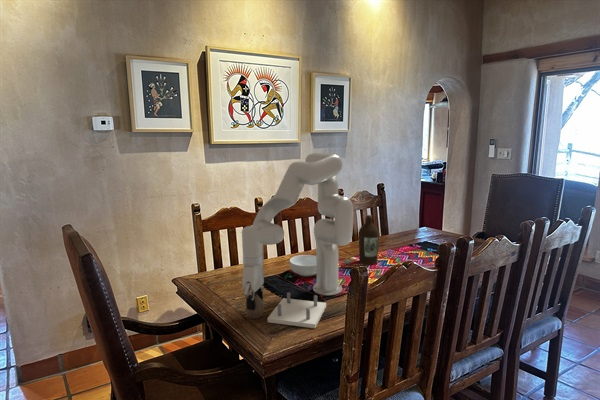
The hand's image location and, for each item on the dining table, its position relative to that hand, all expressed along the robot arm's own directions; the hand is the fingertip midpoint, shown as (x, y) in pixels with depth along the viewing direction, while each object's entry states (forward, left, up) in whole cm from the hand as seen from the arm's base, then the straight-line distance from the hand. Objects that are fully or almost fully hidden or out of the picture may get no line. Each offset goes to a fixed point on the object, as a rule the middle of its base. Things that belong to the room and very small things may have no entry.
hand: (255, 304), depth 148 cm
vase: (0, 0, -5) cm, 5 cm away
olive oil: (-72, +34, -5) cm, 80 cm away
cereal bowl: (-48, +7, -5) cm, 49 cm away
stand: (-6, +15, -5) cm, 17 cm away
